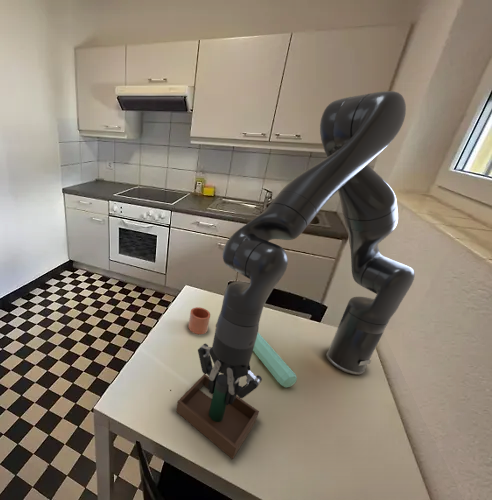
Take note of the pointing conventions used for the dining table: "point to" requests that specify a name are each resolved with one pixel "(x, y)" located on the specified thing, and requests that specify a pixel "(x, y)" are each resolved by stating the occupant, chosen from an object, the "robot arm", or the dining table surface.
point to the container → (274, 362)
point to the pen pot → (199, 320)
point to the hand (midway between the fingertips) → (220, 396)
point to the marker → (219, 398)
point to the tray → (226, 431)
